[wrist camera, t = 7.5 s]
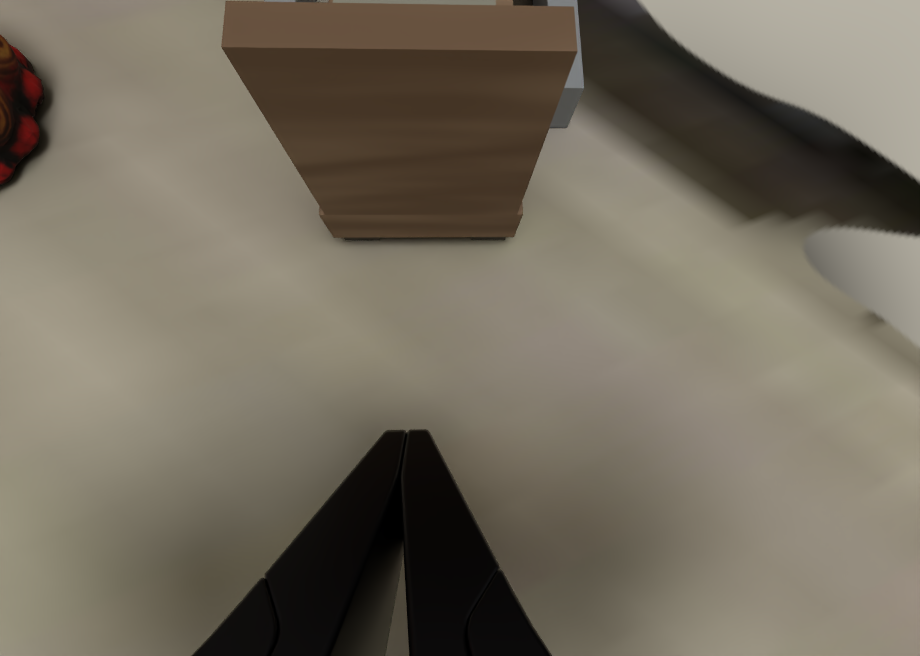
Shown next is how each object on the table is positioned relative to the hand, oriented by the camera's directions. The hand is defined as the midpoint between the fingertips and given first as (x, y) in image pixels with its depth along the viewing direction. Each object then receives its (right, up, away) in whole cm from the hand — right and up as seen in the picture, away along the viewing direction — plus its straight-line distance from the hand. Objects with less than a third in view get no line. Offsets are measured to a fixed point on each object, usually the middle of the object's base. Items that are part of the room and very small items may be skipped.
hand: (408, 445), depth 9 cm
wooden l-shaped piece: (-1, +13, +11) cm, 16 cm away
